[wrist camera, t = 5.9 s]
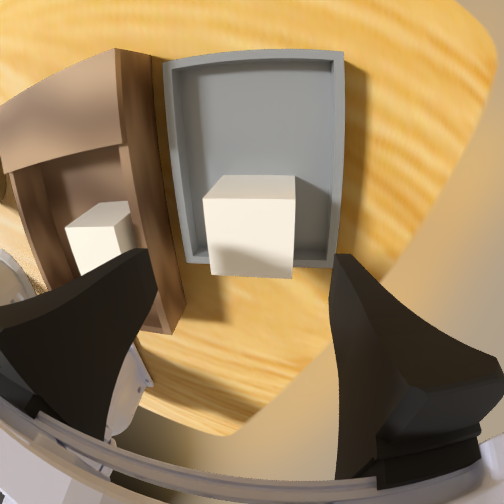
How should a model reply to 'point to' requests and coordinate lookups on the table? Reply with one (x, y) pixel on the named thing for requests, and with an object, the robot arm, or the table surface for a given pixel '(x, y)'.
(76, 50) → the table surface
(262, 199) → the cube
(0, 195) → the cork
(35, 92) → the walnut box
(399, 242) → the table surface
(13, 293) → the french press
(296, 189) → the slate dish
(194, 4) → the table surface
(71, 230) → the cube
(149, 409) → the table surface
